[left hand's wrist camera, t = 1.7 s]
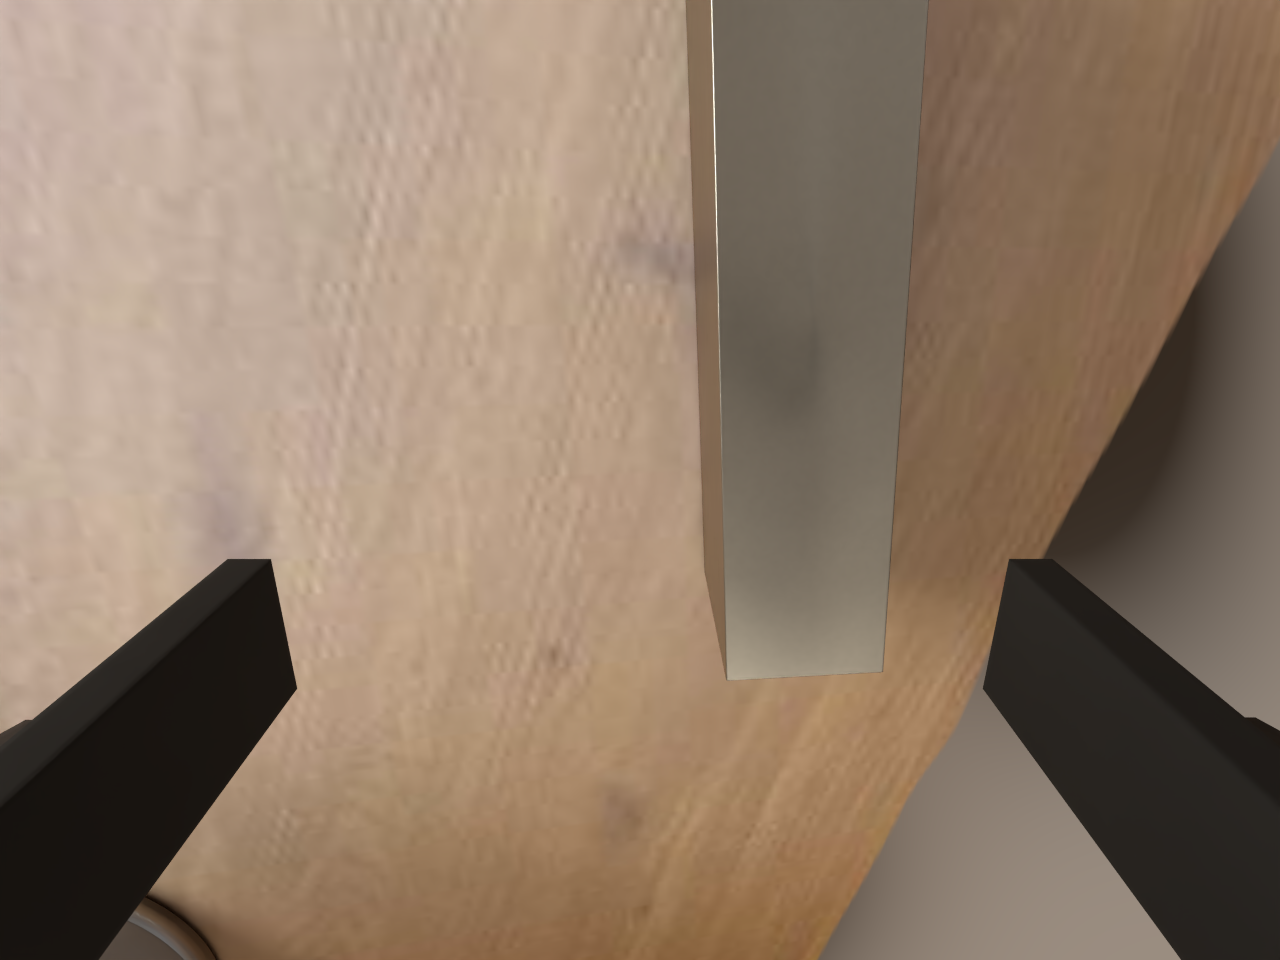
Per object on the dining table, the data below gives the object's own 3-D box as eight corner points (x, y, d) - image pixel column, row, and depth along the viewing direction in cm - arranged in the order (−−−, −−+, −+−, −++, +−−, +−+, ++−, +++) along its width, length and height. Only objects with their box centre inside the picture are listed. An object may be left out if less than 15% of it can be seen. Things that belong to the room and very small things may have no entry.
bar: (824, 565, 33) (883, 672, 25) (704, 572, 33) (726, 681, 25) (845, -96, 24) (946, -248, 16) (682, -84, 24) (705, -229, 16)
